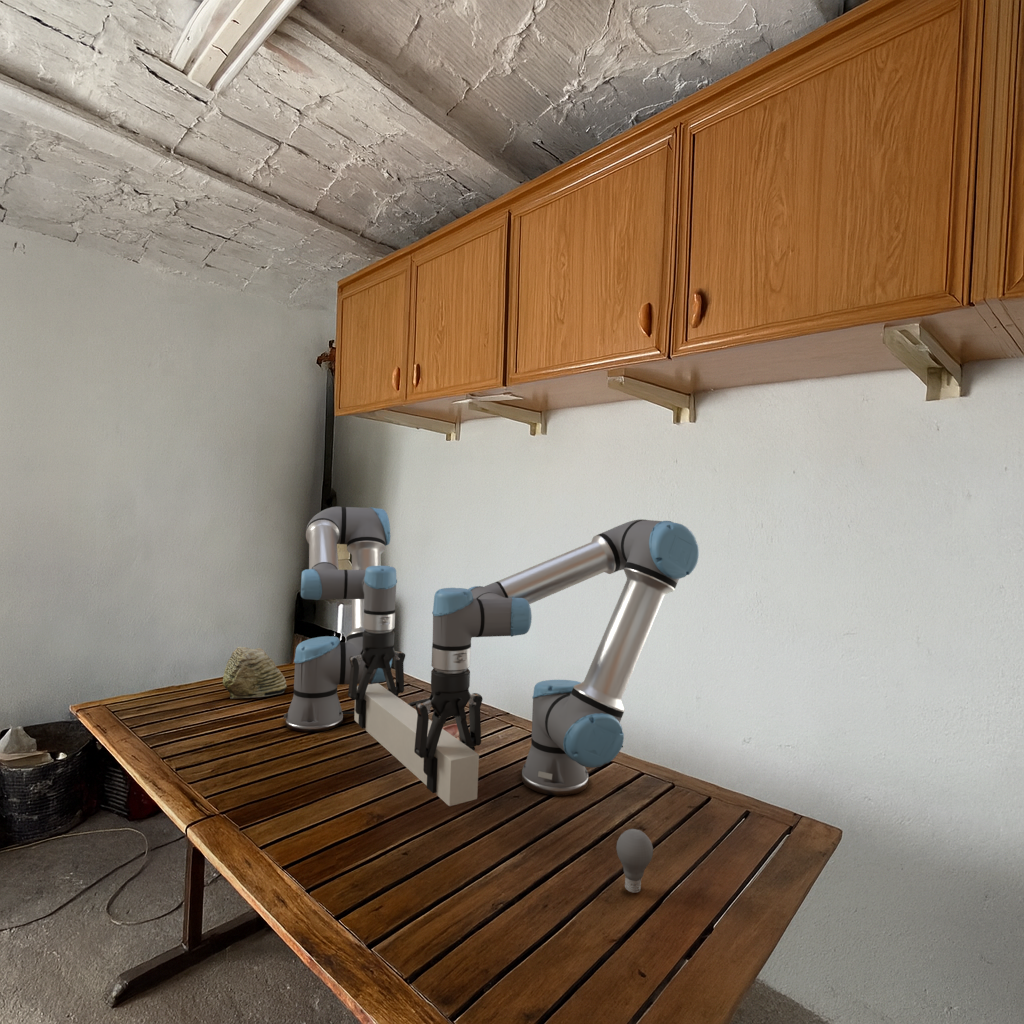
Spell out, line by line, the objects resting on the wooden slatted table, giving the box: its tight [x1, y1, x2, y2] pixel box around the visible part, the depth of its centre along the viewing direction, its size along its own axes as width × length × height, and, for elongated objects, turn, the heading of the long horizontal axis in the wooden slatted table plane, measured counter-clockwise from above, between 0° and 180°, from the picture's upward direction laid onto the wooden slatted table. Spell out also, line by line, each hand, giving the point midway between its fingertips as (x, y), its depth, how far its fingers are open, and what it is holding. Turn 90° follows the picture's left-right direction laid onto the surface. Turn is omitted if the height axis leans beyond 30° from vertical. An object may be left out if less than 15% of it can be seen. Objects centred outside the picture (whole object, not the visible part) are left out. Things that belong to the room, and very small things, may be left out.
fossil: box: [222, 646, 288, 699], centre depth 198 cm, size 9×18×15 cm, turn 132°
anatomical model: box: [442, 723, 461, 741], centre depth 165 cm, size 13×4×12 cm
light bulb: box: [615, 828, 654, 894], centre depth 106 cm, size 6×6×10 cm
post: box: [353, 682, 480, 807], centre depth 139 cm, size 50×6×9 cm, turn 34°
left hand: (375, 723), depth 154 cm, fingers closed on post, 6 cm apart
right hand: (447, 785), depth 124 cm, fingers closed on post, 6 cm apart
